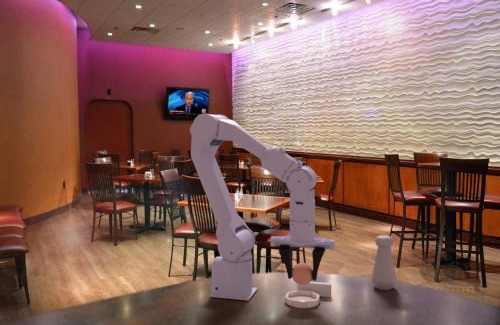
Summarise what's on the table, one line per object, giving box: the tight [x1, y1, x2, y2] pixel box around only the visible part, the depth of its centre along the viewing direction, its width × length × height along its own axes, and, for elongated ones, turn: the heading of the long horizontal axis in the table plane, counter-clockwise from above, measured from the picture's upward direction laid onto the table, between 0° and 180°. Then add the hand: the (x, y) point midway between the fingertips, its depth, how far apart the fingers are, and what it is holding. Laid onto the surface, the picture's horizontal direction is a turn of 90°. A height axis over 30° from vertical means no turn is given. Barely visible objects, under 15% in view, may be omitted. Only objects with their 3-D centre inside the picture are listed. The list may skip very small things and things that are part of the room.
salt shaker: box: [371, 234, 397, 291], centre depth 116 cm, size 6×6×13 cm
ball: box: [291, 262, 313, 285], centre depth 106 cm, size 5×5×5 cm
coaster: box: [284, 289, 321, 309], centre depth 107 cm, size 8×8×1 cm
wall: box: [296, 281, 332, 298], centre depth 111 cm, size 8×1×3 cm, turn 74°
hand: (302, 278), depth 106 cm, fingers closed on ball, 5 cm apart
